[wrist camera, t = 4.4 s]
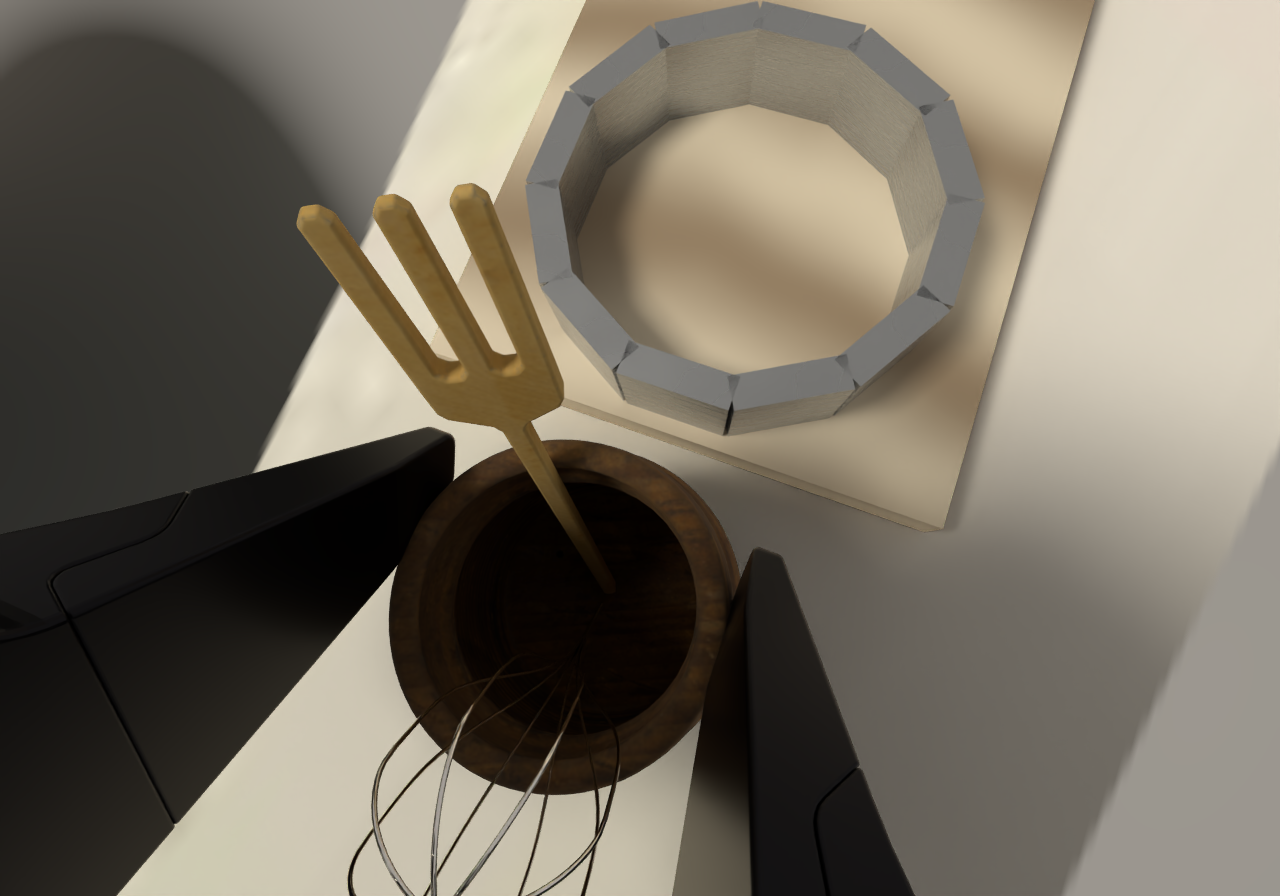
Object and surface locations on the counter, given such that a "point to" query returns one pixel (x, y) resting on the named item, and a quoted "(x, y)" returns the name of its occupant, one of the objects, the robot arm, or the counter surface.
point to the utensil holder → (532, 556)
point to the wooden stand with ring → (788, 227)
